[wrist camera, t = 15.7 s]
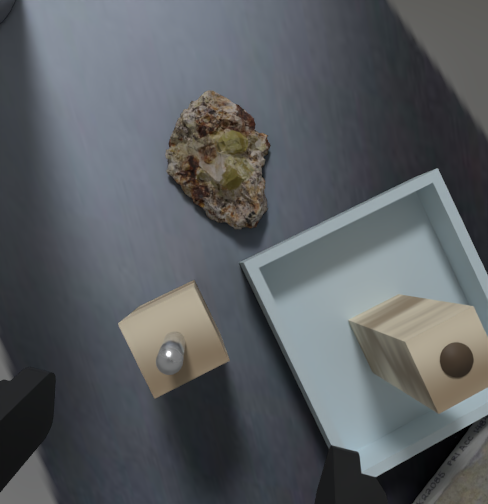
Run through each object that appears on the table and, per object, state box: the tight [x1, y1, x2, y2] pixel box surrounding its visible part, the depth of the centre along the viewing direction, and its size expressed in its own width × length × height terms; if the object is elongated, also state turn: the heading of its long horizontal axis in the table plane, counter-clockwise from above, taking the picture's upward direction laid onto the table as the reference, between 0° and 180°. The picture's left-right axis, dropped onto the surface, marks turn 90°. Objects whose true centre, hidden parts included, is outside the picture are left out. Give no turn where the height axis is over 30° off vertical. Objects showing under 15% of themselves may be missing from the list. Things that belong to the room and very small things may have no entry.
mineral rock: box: [165, 91, 270, 229], centre depth 36 cm, size 11×4×8 cm
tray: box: [239, 168, 488, 477], centre depth 36 cm, size 18×16×4 cm
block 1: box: [118, 280, 230, 399], centre depth 28 cm, size 5×5×15 cm
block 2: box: [348, 294, 488, 414], centre depth 32 cm, size 5×5×10 cm
